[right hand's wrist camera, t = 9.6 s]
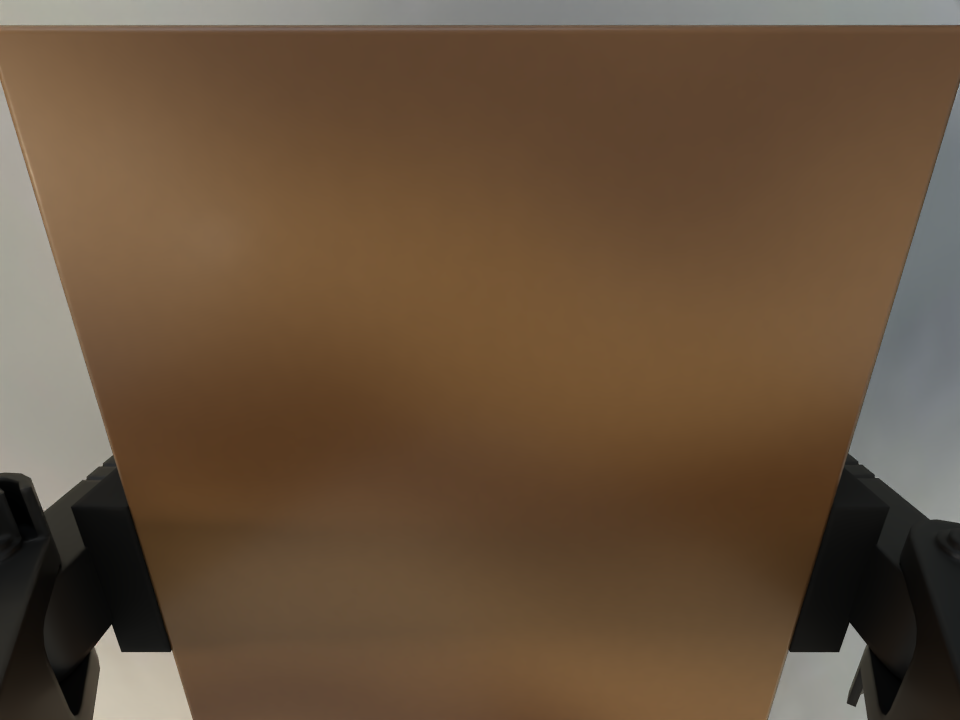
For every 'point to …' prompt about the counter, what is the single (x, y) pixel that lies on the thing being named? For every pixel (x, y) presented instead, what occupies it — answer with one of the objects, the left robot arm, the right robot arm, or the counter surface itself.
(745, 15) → the counter surface
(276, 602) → the wooden beam
